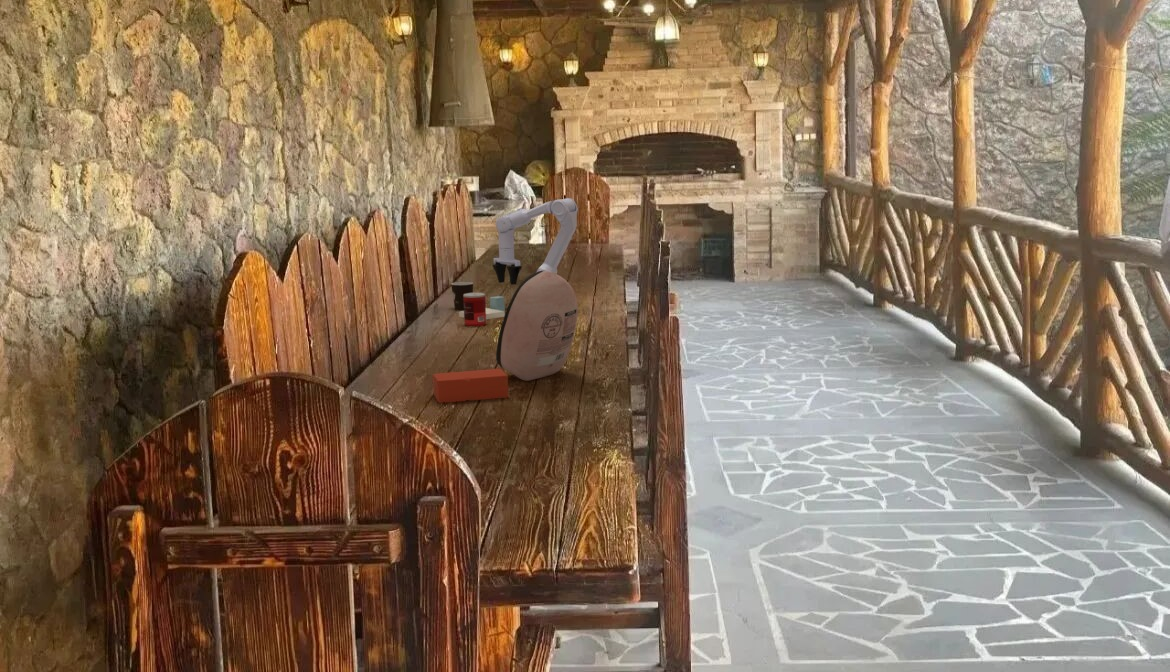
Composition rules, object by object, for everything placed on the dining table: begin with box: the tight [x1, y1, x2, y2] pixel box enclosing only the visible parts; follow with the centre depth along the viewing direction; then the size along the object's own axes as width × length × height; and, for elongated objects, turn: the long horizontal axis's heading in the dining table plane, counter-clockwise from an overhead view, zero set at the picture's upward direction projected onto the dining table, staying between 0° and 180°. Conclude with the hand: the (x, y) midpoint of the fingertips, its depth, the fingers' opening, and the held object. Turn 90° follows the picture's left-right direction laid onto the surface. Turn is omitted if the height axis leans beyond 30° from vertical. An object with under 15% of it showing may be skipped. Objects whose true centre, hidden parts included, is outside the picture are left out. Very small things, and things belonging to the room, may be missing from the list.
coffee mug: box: [450, 281, 474, 311], centre depth 412 cm, size 12×9×10 cm
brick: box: [432, 368, 509, 404], centre depth 273 cm, size 18×9×6 cm, turn 106°
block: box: [489, 295, 506, 313], centre depth 401 cm, size 4×4×6 cm
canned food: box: [463, 292, 487, 327], centre depth 376 cm, size 8×8×11 cm
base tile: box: [458, 307, 506, 320], centre depth 393 cm, size 12×12×2 cm
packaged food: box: [495, 271, 579, 382], centre depth 291 cm, size 22×20×30 cm
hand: (507, 283), depth 405 cm, fingers open, 7 cm apart
